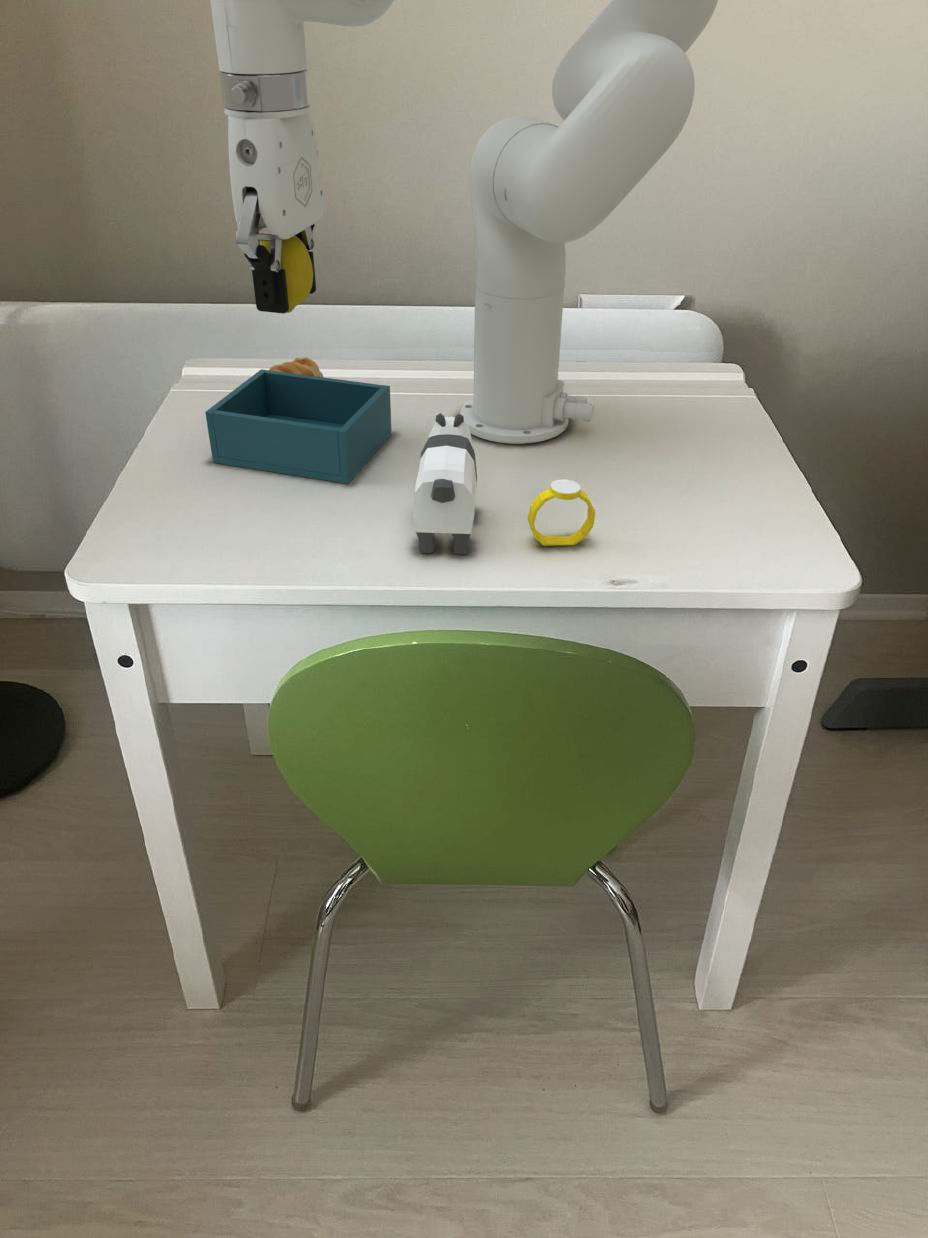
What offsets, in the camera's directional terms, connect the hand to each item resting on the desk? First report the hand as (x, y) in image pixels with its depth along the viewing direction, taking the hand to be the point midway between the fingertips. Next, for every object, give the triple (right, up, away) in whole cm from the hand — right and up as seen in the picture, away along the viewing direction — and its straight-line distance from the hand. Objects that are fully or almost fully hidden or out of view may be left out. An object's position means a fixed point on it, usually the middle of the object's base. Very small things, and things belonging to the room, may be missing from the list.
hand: (287, 299), depth 95 cm
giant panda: (+16, -23, -2) cm, 28 cm away
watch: (+26, -24, -5) cm, 36 cm away
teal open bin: (0, -13, +11) cm, 17 cm away
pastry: (-4, -4, +23) cm, 24 cm away
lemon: (0, -1, +1) cm, 2 cm away
